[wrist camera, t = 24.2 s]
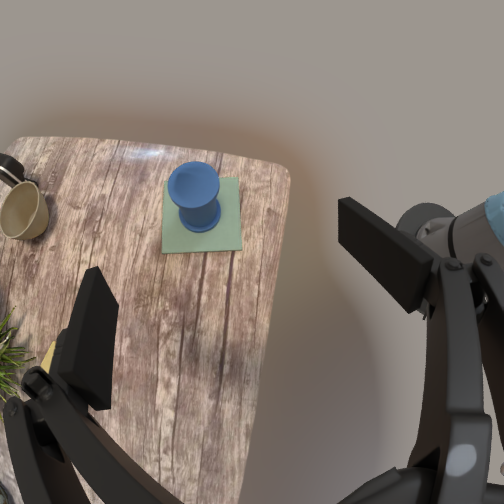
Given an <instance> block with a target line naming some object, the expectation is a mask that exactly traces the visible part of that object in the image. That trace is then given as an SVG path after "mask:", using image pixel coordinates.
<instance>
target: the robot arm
mask: <svg viewBox="0 0 504 504" xmlns="http://www.w3.org/2000/svg"><path fill="white" fill-rule="evenodd" d="M338 242H339V243H340V244H341V245H342V246H343V247H344V248H345V249H346V250H347V251H348V252H349V253H350V254H351V255H352V256H353V257H354V258H355V259H356V260H357V261H358V262H359V263H360V264H361V265H362V266H363V267H364V268H365V269H366V270H367V271H368V272H369V273H370V274H371V275H372V276H373V277H374V278H375V279H376V280H377V281H378V282H379V283H380V284H381V285H382V286H383V287H384V288H385V289H386V291H388V293H389V294H390V295H391V296H392V297H393V298H394V299H395V300H396V301H397V302H398V303H399V304H400V305H401V306H402V308H403V309H404V310H405V311H406V312H407V313H408V314H410V313H411V312H413V311H415V310H417V309H419V308H421V304H422V301H423V298H425V299H426V300H427V301H428V304H427V307H426V310H425V313H424V316H423V320H425V318H426V316H427V347H426V348H427V349H426V368H425V382H424V393H423V402H422V410H421V417H420V424H419V430H418V436H417V440H416V444H415V446H414V448H413V450H412V452H411V455H410V457H409V461H408V465H407V468H403V469H398V470H397V469H396V467H393V468H392V469H390V470H388V471H386V472H385V473H383V474H381V475H379V476H377V477H376V478H374V479H372V480H370V481H368V482H366V483H364V484H363V485H362V486H361V487H359V488H358V489H357V490H355V491H354V492H352V493H351V494H350V495H348V496H347V497H346V498H344V499H343V500H341V501H340V502H339V503H337V504H504V485H498V484H492V483H487V477H488V470H489V462H490V452H491V440H492V419H491V417H490V415H488V414H485V413H484V408H483V405H484V402H483V372H482V364H483V367H484V370H485V374H486V377H487V381H488V385H489V388H490V392H491V396H492V400H493V405H494V410H495V413H496V419H497V424H498V430H499V435H500V439H501V443H502V447H503V450H504V191H503V192H502V193H499V194H497V195H494V196H490V197H489V198H487V200H486V201H485V202H483V203H481V204H480V205H478V206H476V207H474V208H472V209H470V210H468V211H467V212H464V213H463V214H461V215H459V216H457V217H450V218H435V219H431V220H429V221H427V222H425V223H424V224H422V225H421V226H420V227H419V228H418V230H417V232H416V234H415V236H413V235H412V234H410V233H407V232H405V231H402V230H400V231H398V230H397V229H396V228H394V227H393V226H391V225H390V224H389V223H387V222H386V221H384V220H383V219H382V218H380V217H379V216H377V215H376V214H374V213H373V212H372V211H370V210H369V209H367V208H366V207H364V206H362V205H361V204H360V203H358V202H357V201H355V200H354V199H352V198H351V197H346V198H342V199H339V200H338ZM485 297H486V300H487V302H486V300H485ZM118 309H119V305H118V303H117V301H116V299H115V297H114V296H113V294H112V292H111V290H110V288H109V286H108V284H107V282H106V280H105V279H104V277H103V275H102V273H101V271H100V269H99V267H98V266H96V267H93V268H90V269H87V270H86V271H85V274H84V277H83V280H82V283H81V285H80V288H79V291H78V295H77V298H76V301H75V304H74V307H73V311H72V314H71V317H70V321H69V325H68V328H66V329H63V330H62V331H61V333H60V334H59V336H58V338H57V340H56V344H55V349H54V352H53V356H52V360H51V364H50V369H49V373H47V372H46V371H45V370H44V369H43V368H42V367H40V366H35V367H32V368H30V369H29V370H28V371H27V372H26V373H25V374H24V376H23V379H22V382H21V388H22V390H23V391H24V392H25V393H26V394H27V395H28V396H29V397H30V398H31V399H30V400H28V401H26V402H23V401H22V400H21V399H20V398H19V397H16V396H14V397H11V398H10V399H9V400H7V402H6V403H5V405H4V408H3V419H4V426H5V432H6V438H7V443H8V448H9V453H10V457H11V461H12V465H13V469H14V473H15V477H16V480H17V483H18V487H19V490H20V493H21V496H22V499H23V502H24V504H91V503H90V501H89V499H88V497H87V495H86V493H85V491H84V489H83V487H82V485H81V483H80V481H79V479H78V477H77V475H76V472H75V470H74V468H73V466H72V463H73V465H74V466H75V467H76V469H77V470H78V471H79V473H80V474H81V475H82V477H83V478H84V479H85V480H86V482H87V483H88V484H89V486H90V487H91V488H92V489H93V490H94V492H95V493H96V494H97V495H98V496H99V497H100V499H101V500H102V501H103V502H104V503H105V504H184V503H182V502H181V501H180V500H179V499H177V498H176V497H175V496H173V495H172V494H171V493H170V492H168V491H167V490H166V489H165V488H164V487H162V486H161V485H160V484H159V483H158V482H156V481H155V480H154V479H153V478H152V477H151V476H150V475H149V474H147V473H146V472H145V471H144V470H143V469H142V468H141V467H140V466H139V465H138V464H137V463H136V462H135V461H134V460H132V459H131V458H130V457H129V456H128V455H127V454H126V453H125V452H124V451H123V449H122V448H121V447H120V446H119V445H118V444H117V443H116V442H115V441H114V440H113V439H112V438H111V437H110V436H109V435H108V433H107V432H106V431H105V430H104V429H103V428H102V427H101V425H100V424H99V423H98V422H97V421H96V420H95V418H94V417H93V416H92V415H91V414H90V413H89V412H88V404H89V405H90V406H91V407H92V408H93V409H94V410H96V411H100V410H108V409H111V392H112V371H113V357H114V345H115V335H116V326H117V317H118ZM70 460H71V461H70ZM71 462H72V463H71ZM500 469H501V474H502V475H503V476H504V463H503V464H502V466H501V468H500Z"/></svg>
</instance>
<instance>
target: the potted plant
mask: <svg viewBox="0 0 504 504" xmlns="http://www.w3.org/2000/svg"><path fill="white" fill-rule="evenodd" d="M15 307H16V306H15ZM14 309H15V308H13V310H14ZM13 310H12V311H11V313H12V312H13ZM11 313H10V314H9V315H8V316H7V317H6V318H5V319H4V320H3V321H2V322H1V323H0V362H5V363H13V364H16V365H10V366H6V365H1V364H0V388H1V389H2V390H4V391H5V392H6V393H7V394H9V395H11V396H14V395H15V396H16V397H19V396H18V395H17V392H19V391H18V390H17V389H15V388H13V387H12V386H10V385H9V384H8V383H6V382H5V381H3V380H2V379H4V380H6V381H7V382H11V383H15V384H17V385H19V386H21V385H20V384H18V383H16V382H14V381H13V380H12V379H11V378H10V376H9V375H10V374H16V373H6V371H5V370H7V369H21V368H25V367H20V366H21V364H22V363H26V362H29V361H31V360H34V359H35V358H36V357H33V358H31V359H28V360H25V361H13V360H12V359H11V358H15V357H23V356H24V355H12V356H6V355H5V354H4V353H29V352H25V351H12V350H19V349H25V348H23V347H13V348H7V347H8V345H9V342H10V340H11V339H13V338H14V337H15V336H12V337H11V338H10V336H11V331H10V330H12V329H18V328H15V327H12V328H10V329H8V330H6V331H5V332H3V333H2V327H3V326H4V325H5V323H6V322H7V321H8V319H9V317H10V315H11ZM9 331H10V332H9ZM8 332H9V334H8V336H7V338H6V340H5V341H3V342H2V338H3V337H4V336H5V335H6V334H7V333H8ZM22 365H24V364H22ZM15 366H19V367H15ZM4 375H6V376H7V377H8V378H6V377H5V376H4ZM1 378H2V379H1ZM3 387H5V388H6V389H8V390H9V391H10V392H11V393H10V392H9V391H7V390H6V389H5V388H3ZM10 388H11V389H13V390H15V391H17V392H13V391H12V390H11V389H10ZM12 393H13V394H14V395H13V394H12ZM19 398H20V397H19ZM0 399H2V400H3V401H4V402H7V401H6V400H5V399H4V398H3V397H2V396H1V394H0ZM0 418H1V420H2V422H3V423H4V421H3V419H2V417H1V413H0Z"/></svg>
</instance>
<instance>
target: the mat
mask: <svg viewBox="0 0 504 504" xmlns="http://www.w3.org/2000/svg"><path fill="white" fill-rule="evenodd" d="M219 182H220V189H219V193H218V196H217V198H216V199H217V200H218V201H219V204H220V207H221V217H220V220H219V222H218V224H217V225H216V226H215V227H214V228H213V229H211V230H209V231H207V232H204V233H195V232H192V231H189V230H188V229H186V228H185V227H184V226H183V224H182V223H181V220H180V218H179V207H178V206H177V205H175V204H174V203H173V201H172V200H171V198H170V196H169V193H168V181H164V197H163V220H162V254H174V253H197V252H220V251H242V239H241V221H240V203H239V184H238V177H228V178H219Z"/></svg>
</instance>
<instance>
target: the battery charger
mask: <svg viewBox="0 0 504 504" xmlns="http://www.w3.org/2000/svg"><path fill="white" fill-rule="evenodd" d="M23 172H24V167H23V165H22V164H21V163H19V162H18V161H17V160H16V159H14V158H13V157H11V156H9V155H6V154H2V153H0V179H1V180H2V181H3V182H5V183H6V184H7V185H9V186H10V187H11V188H14V187H15V186H16V185H18V184H19V183H22V182H25V181H30V182H32V183H34V184H35V185H36V186H37V187H38V184H37V183H36V182H35V181H32V180H30V179H27V178H24V176H23Z"/></svg>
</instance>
